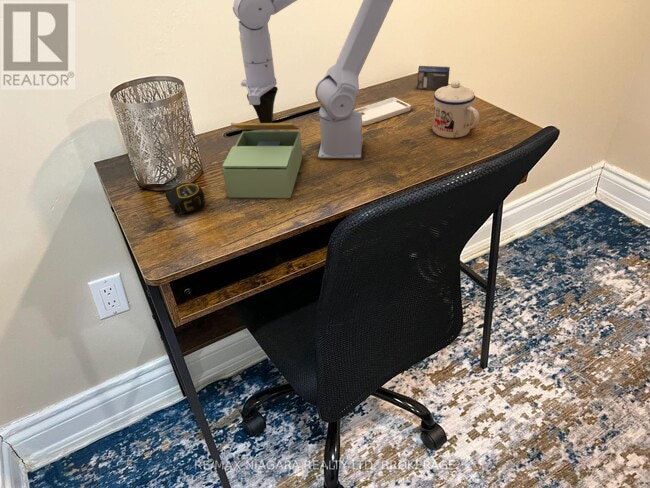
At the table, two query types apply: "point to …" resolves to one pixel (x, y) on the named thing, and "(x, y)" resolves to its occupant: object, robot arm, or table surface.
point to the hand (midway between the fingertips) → (266, 124)
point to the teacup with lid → (454, 111)
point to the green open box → (263, 165)
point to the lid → (264, 126)
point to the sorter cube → (269, 143)
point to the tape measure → (185, 197)
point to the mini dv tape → (432, 77)
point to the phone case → (382, 110)
